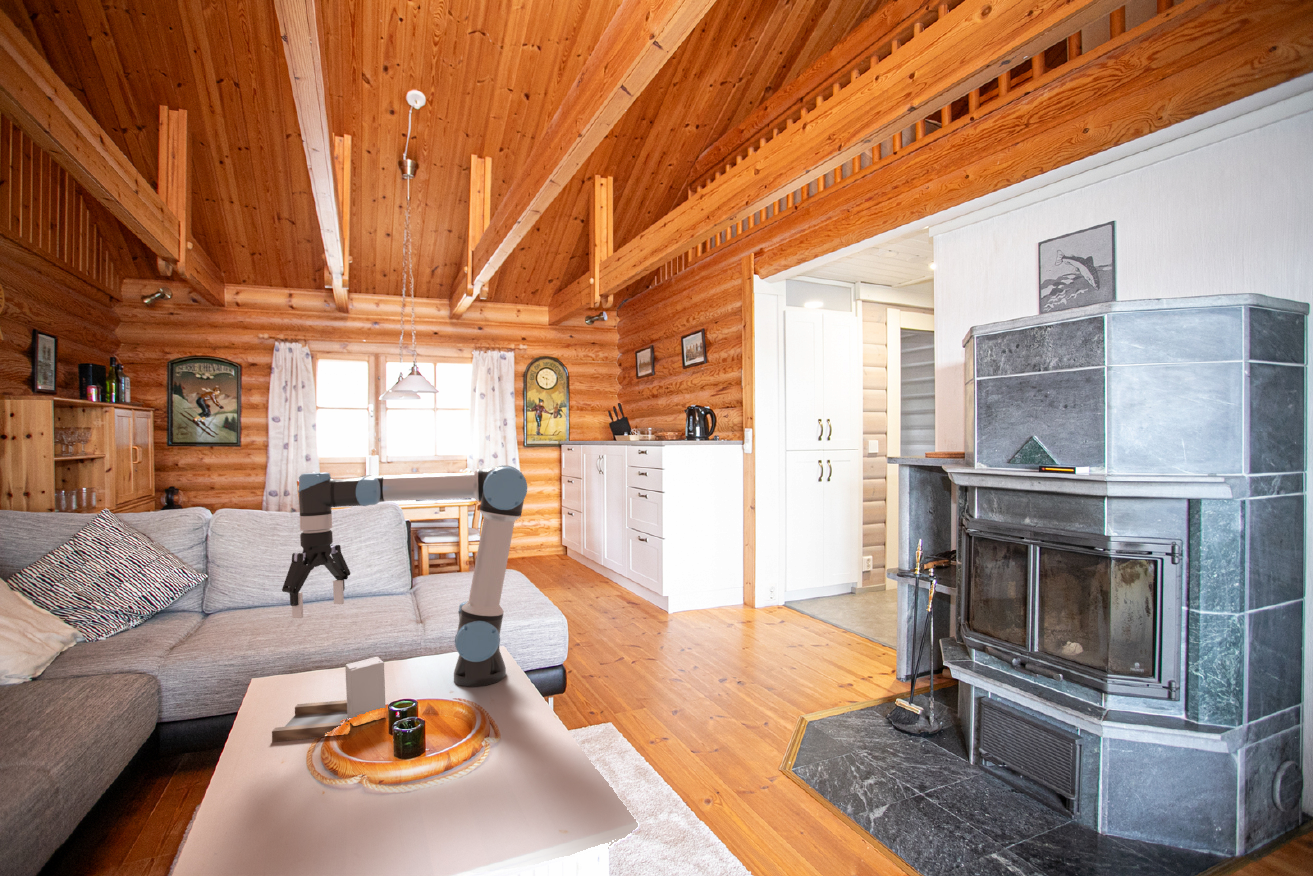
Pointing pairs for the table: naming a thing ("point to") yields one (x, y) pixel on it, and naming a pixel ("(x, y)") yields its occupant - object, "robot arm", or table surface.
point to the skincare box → (365, 686)
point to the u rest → (312, 721)
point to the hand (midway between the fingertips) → (319, 610)
